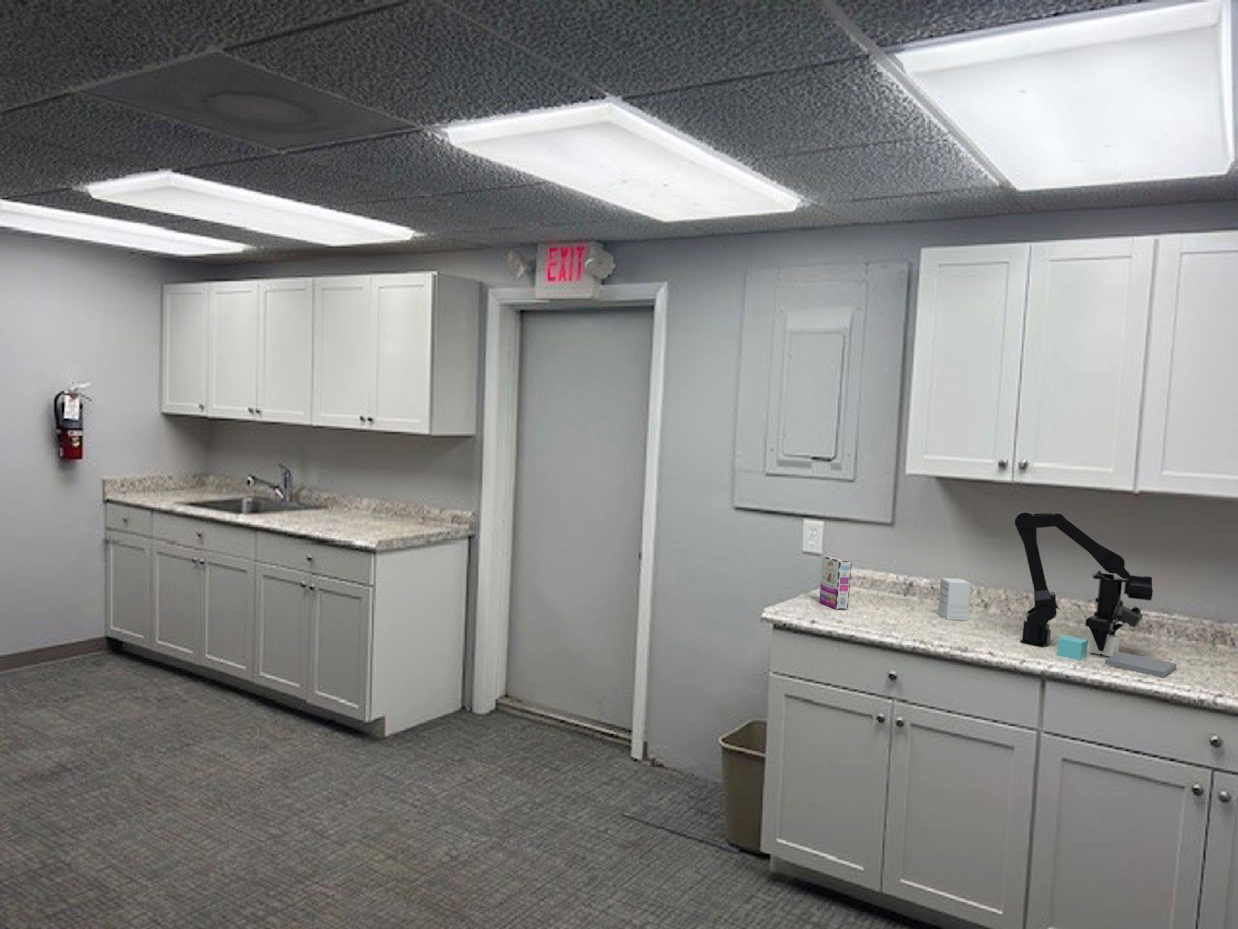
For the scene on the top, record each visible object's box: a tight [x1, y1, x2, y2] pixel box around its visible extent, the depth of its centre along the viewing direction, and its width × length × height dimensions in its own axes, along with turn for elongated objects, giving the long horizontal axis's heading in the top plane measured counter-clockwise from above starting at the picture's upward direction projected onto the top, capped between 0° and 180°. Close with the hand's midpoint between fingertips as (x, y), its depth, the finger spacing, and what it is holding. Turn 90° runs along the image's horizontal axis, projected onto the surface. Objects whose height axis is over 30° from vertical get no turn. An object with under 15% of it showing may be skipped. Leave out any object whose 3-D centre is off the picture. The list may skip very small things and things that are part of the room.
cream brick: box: [1089, 633, 1121, 657], centre depth 253 cm, size 6×6×5 cm
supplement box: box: [937, 577, 972, 622], centre depth 290 cm, size 7×7×13 cm
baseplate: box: [1104, 651, 1178, 679], centre depth 241 cm, size 14×14×2 cm
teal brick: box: [1056, 635, 1089, 661], centre depth 248 cm, size 6×6×5 cm
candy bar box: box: [818, 555, 853, 611], centre depth 297 cm, size 11×5×16 cm, turn 17°
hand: (1104, 649), depth 253 cm, fingers closed on cream brick, 6 cm apart
